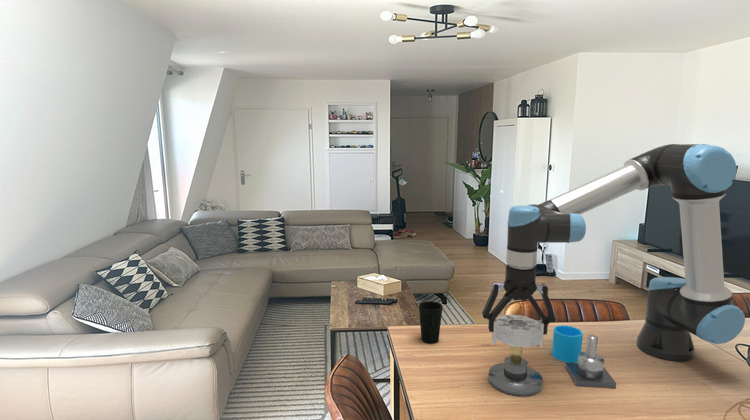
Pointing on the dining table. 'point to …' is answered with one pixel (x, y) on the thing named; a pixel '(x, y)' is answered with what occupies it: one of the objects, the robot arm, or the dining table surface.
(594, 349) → the stand
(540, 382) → the hub
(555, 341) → the mug
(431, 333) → the cup
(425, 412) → the dining table surface
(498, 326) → the faceted steel ring
